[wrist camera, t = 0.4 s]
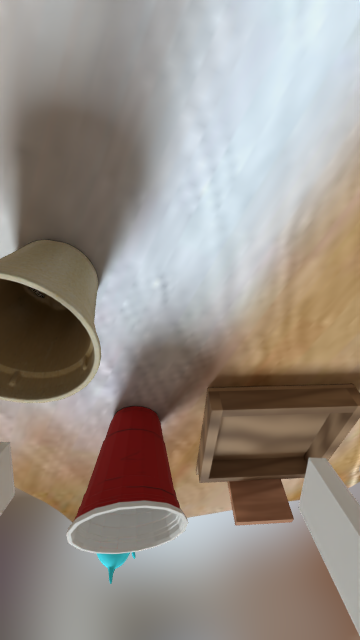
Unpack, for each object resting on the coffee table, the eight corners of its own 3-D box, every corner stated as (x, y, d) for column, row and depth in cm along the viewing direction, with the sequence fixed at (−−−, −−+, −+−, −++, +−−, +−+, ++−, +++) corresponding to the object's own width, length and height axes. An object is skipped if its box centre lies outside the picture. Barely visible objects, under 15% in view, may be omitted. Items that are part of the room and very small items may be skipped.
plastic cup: (194, 427, 36) (206, 541, 26) (123, 449, 38) (111, 561, 28) (155, 379, 30) (153, 505, 20) (74, 409, 32) (37, 534, 22)
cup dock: (207, 387, 31) (218, 452, 25) (353, 384, 32) (397, 445, 26) (195, 471, 43) (201, 528, 37) (300, 466, 44) (322, 521, 38)
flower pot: (10, 185, 18) (-87, 230, 11) (139, 257, 21) (129, 326, 14) (-18, 292, 22) (-100, 372, 15) (92, 337, 25) (66, 418, 19)
